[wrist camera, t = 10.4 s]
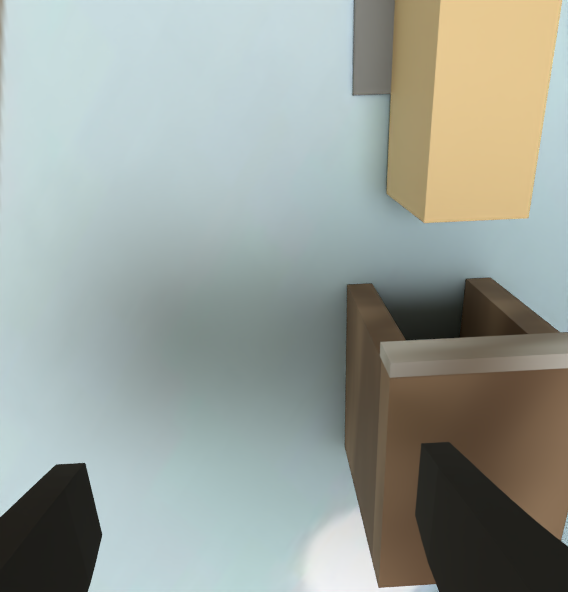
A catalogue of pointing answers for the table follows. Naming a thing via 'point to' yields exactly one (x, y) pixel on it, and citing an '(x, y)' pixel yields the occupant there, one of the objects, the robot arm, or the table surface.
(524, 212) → the tan rectangular block
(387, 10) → the mat
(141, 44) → the table surface
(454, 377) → the brown wooden open box
